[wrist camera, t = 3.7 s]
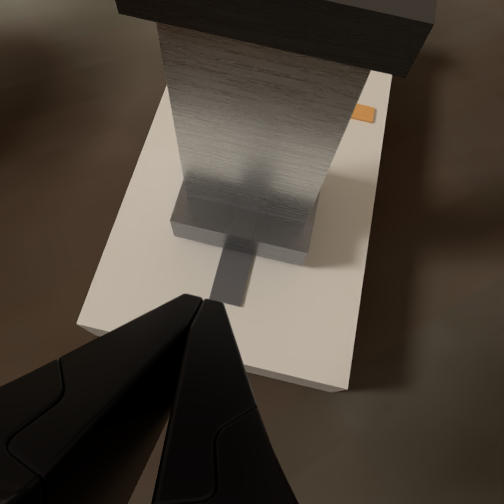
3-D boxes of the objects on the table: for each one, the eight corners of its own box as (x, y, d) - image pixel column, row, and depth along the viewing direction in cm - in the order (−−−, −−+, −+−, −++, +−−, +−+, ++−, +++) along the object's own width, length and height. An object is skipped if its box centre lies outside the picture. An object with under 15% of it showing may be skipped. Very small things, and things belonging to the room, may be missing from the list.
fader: (309, 267, 16) (430, 60, 7) (166, 234, 16) (84, -17, 7) (326, 178, 18) (446, -99, 8) (194, 148, 18) (159, -160, 8)
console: (331, 392, 18) (360, 387, 14) (95, 335, 18) (61, 315, 14) (382, 61, 24) (411, -4, 20) (208, 22, 24) (205, -49, 20)
